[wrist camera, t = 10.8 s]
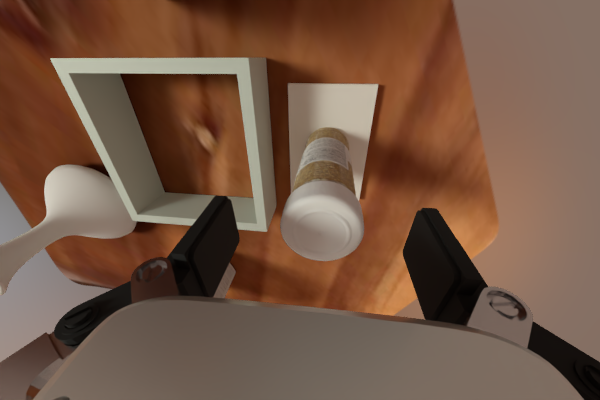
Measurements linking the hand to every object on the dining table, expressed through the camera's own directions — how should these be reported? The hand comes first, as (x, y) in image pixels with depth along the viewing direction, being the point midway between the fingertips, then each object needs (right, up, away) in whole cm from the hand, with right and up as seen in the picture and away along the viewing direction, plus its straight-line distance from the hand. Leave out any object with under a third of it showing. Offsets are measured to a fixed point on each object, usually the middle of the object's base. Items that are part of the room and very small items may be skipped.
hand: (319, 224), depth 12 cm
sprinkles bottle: (+2, +7, +12) cm, 14 cm away
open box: (-12, +8, +14) cm, 20 cm away
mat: (+2, +7, +12) cm, 14 cm away
